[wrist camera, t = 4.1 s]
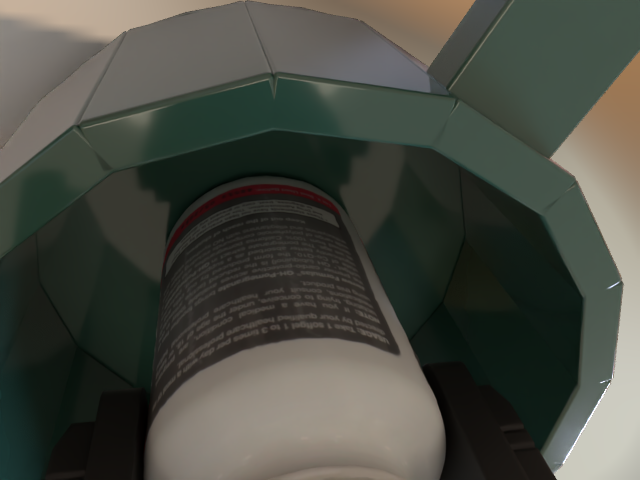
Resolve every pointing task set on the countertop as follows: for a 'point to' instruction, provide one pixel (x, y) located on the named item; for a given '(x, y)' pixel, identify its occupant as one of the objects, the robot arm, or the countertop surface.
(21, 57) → the countertop surface
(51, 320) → the pot
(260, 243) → the pill bottle
